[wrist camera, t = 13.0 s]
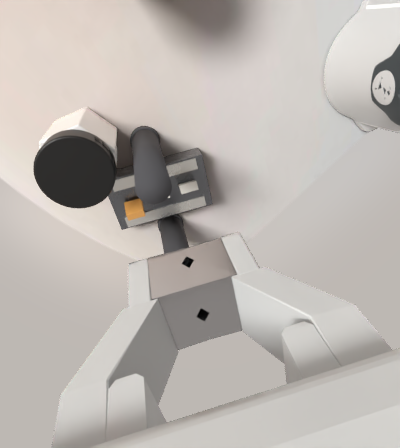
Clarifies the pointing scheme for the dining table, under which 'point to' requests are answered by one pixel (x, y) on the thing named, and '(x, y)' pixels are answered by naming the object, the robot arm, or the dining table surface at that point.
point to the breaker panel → (177, 203)
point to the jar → (77, 159)
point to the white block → (188, 186)
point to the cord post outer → (172, 233)
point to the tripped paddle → (134, 209)
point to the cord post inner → (149, 166)
